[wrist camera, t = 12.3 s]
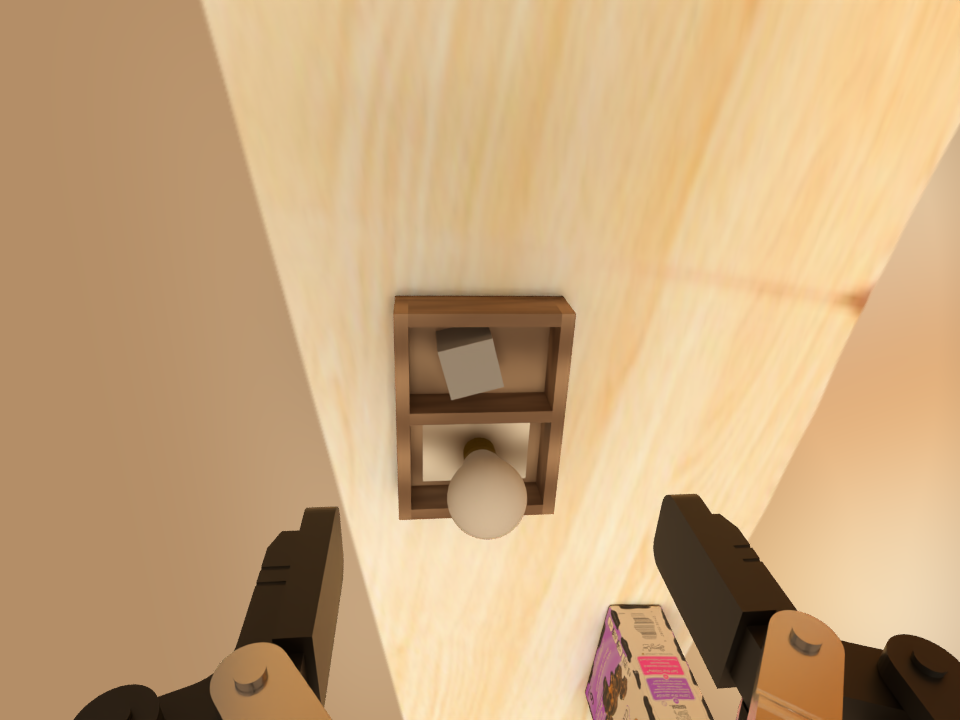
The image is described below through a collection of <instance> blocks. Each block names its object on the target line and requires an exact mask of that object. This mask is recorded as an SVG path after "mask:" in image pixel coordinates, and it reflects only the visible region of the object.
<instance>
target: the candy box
mask: <svg viewBox="0 0 960 720" xmlns="http://www.w3.org/2000/svg"><path fill="white" fill-rule="evenodd" d="M585 694H586V697H587V701H588V704H589V708H590V711H591V715H592V718H593V720H714V719H713V717H712V715H711V713H710V710H709V708H708V706H707V704H706V702H705V700H704V698H703V696H702V693H701V691H700V689H699V687H698V685H697V683H696V681H695V679H694V676H693V674H692V672H691V670H690V668H689V666H688V664H687V662H686V660H685V657H684V655H683V654H682V651H681V649H680V647H679V645H678V643H677V640H676V638H675V636H674V634H673V632H672V630H671V627H670V625H669V623H668V621H667V619H666V617H665V615H664V613H663V611H662V608H661V607H660V606H620V605H619V606H614V605H613V606H610V607H609V610H608V613H607V616H606V620H605V624H604V628H603V631H602V634H601V638H600V642H599V645H598V649H597V653H596V656H595V660H594V663H593V667H592V671H591V674H590V678H589V681H588V685H587V689H586V692H585Z"/></svg>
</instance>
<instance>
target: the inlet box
mask: <svg viewBox="0 0 960 720" xmlns="http://www.w3.org/2000/svg"><path fill="white" fill-rule="evenodd" d="M393 315H394V351H395V388H396V425H397V462H398V498H399V520H410V519H436V518H452V517H451V514H450V512H449V509H448V504H447V493H448V487H449V484H450V482H451V479H452V477H453V476H454V474H455V473H456V472H457V470H458V469H459V468H460V467H461V466H462V465H463V462H464V455H463V450H464V447H465V445H466V443H467V442H468V441H470V440H471V439H474V438H479V437H481V438H486V439H488V440H489V441H491V442H492V444H493V445H494V448H495V452H496V455H497V456H498V457H499V458H500V459H501V460H503V461H505V462H507V463H509V464H510V465H511V466H512V467H514V468H515V469H516V471H517V472H518V473H519V474H520V476H521V478H522V479H523V481H524V484H525V487H526V492H527V505H526V509H525V513H524V515H539V514H554V507H555V498H556V489H557V480H558V471H559V462H560V453H561V444H562V435H563V426H564V417H565V409H566V400H567V391H568V382H569V373H570V364H571V355H572V346H573V337H574V328H575V319H576V313H575V312H574V310H573V309H572V308H571V306H570V305H569V304H568V302H567V301H566V300H565V298H564V297H563V296H395V304H394V314H393ZM451 327H489V329H490V332H491V335H492V338H493V342H494V347H495V351H496V355H497V359H498V363H499V368H500V372H501V376H502V380H503V384H504V387H502V388H498V389H494V390H490V391H486V392H482V393H478V394H474V395H470V396H466V397H462V398H458V399H454V400H451V397H450V394H449V390H448V387H447V383H446V380H445V376H444V373H443V369H442V366H441V362H440V359H439V355H438V351H437V339H436V331H439V330H443V329H447V328H451Z"/></svg>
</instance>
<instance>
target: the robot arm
mask: <svg viewBox="0 0 960 720" xmlns="http://www.w3.org/2000/svg"><path fill="white" fill-rule="evenodd" d="M653 549H654V557H655V562H656V565H657V567H658V569H659V572H660V574H661V576H662V578H663V580H664V582H665V584H666V586H667V588H668V590H669V592H670V594H671V596H672V598H673V600H674V602H675V604H676V606H677V608H678V610H679V612H680V614H681V616H682V618H683V620H684V622H685V624H686V626H687V628H688V630H689V632H690V634H691V636H692V638H693V640H694V642H695V644H696V646H697V648H698V650H699V652H700V654H701V656H702V658H703V660H704V663H705V664H706V666H707V669H708V670H709V672H710V675H711V676H712V679H713V680H714V683H715V685H716V687H717V689H718V688H731V687H737V689H738V691H739V693H740V694H741V696H742V699H741V701H740V704H739V707H738V712H737V717H736V720H960V662H959V661H958V660H957V659H956V658H955V657H954V656H952V655H951V654H950V653H949V652H947V651H946V650H945V649H943V648H941V647H940V646H938V645H936V644H935V643H932V642H931V641H928V640H925V639H924V638H920V637H917V636H913V635H905V634H902V635H896V636H893V637H891V638H890V639H889V641H888V642H887V644H886V646H885V648H884V650H881V649H876V648H872V647H867V646H862V645H858V644H854V643H849V642H845V641H841V640H840V639H839V638H838V636H837V635H836V634H835V633H834V631H833V630H832V629H831V628H829V627H828V626H827V625H826V624H825V623H823V622H822V621H820V620H819V619H817V618H815V617H813V616H811V615H809V614H806V613H803V612H799V611H797V610H796V608H795V607H794V606H793V604H792V603H791V601H790V600H789V598H788V597H787V596H786V594H785V593H784V591H783V590H782V589H781V587H780V586H779V585H778V583H777V582H776V580H775V579H774V578H773V576H772V575H771V574H770V572H769V571H768V569H767V568H766V566H765V565H764V564H763V562H760V560H759V557H758V555H757V554H756V552H755V551H754V550H753V548H750V544H749V543H748V541H747V540H746V538H745V537H744V536H743V534H742V533H741V532H740V530H739V529H738V528H737V527H736V526H735V525H733V524H732V523H731V522H730V521H728V520H727V519H726V518H724V517H723V516H722V515H721V514H711V512H710V511H709V509H708V508H707V506H706V505H705V503H704V502H703V500H702V499H701V498H700V496H698V495H697V494H679V495H666V496H665V497H664V499H663V502H662V506H661V510H660V515H659V520H658V524H657V529H656V533H655V538H654V545H653ZM342 581H343V547H342V536H341V525H340V514H339V508H338V507H312V508H306V509H305V512H304V515H303V519H302V523H301V527H300V531H282V532H281V533H280V534H279V535H278V536H277V537H276V539H275V540H274V541H273V542H272V543H271V545H270V546H269V547H268V548H267V551H266V554H265V557H264V560H263V563H262V569H261V571H260V573H259V576H258V580H257V585H256V586H255V589H254V592H253V595H252V598H251V602H250V605H249V608H248V611H247V614H246V617H245V621H244V624H243V627H242V630H241V633H240V636H239V639H238V642H237V645H236V648H235V650H234V652H232V653H231V654H230V655H228V656H227V657H226V658H225V659H224V660H223V661H222V662H221V663H220V664H219V666H218V667H217V669H216V670H215V672H214V673H213V674H212V675H210V676H209V677H208V678H206V679H204V680H202V681H200V682H198V683H196V684H193V685H191V686H188V687H185V688H182V689H180V690H176V691H174V692H171V693H168V694H165V695H162V696H159V697H157V695H156V694H155V692H154V691H153V690H151V689H150V688H148V687H146V686H143V685H136V684H135V685H125V686H120V687H118V688H114V689H112V690H109V691H107V692H105V693H103V694H102V695H100V696H98V697H97V698H95V699H94V700H93V701H91V702H90V703H89V704H88V705H86V706H85V707H84V708H83V709H82V710H81V711H80V713H78V715H77V716H76V717H75V719H74V720H332V719H331V717H330V716H329V714H328V713H327V711H326V710H325V709H324V705H325V698H326V692H327V685H328V677H329V671H330V664H331V657H332V650H333V643H334V637H335V630H336V623H337V616H338V609H339V602H340V595H341V589H342Z"/></svg>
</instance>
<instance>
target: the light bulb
mask: <svg viewBox="0 0 960 720" xmlns="http://www.w3.org/2000/svg"><path fill="white" fill-rule="evenodd" d="M463 455H464V462H463V465H462V466H461V467H460V468H459V469H458V470H457V472H456V473H455V474H454V476H453V477H452V479H451V482H450V484H449V487H448V493H447V504H448V509H449V512H450V514H451V517H452V519H453V520H454V522H455V523H456V525H457V526H458V527H459V528H460V529H461V530H462V531H464V532H465V533H466V534H468V535H470V536H472V537H475V538H479V539H496V538H499V537H502V536H504V535H506V534H508V533H510V532H511V531H512V530H513V529H514V528H515V527H516V526H517V525H518V524H519V522H520V521H521V519H522V517H523V515H524V513H525V509H526V505H527V492H526V487H525V484H524V481H523V479H522V478H521V476H520V474H519V473H518V472H517V471H516V469H515V468H514V467H512V466H511V465H510V464H509V463H507V462H505V461H503V460H501V459H500V458H499V457H498V456H497V455H496V452H495V448H494V445H493V444H492V442H491V441H489V440H488V439H486V438H481V437H479V438H474V439H471V440H470V441H468V442H467V443H466V445H465V447H464V450H463Z"/></svg>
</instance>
